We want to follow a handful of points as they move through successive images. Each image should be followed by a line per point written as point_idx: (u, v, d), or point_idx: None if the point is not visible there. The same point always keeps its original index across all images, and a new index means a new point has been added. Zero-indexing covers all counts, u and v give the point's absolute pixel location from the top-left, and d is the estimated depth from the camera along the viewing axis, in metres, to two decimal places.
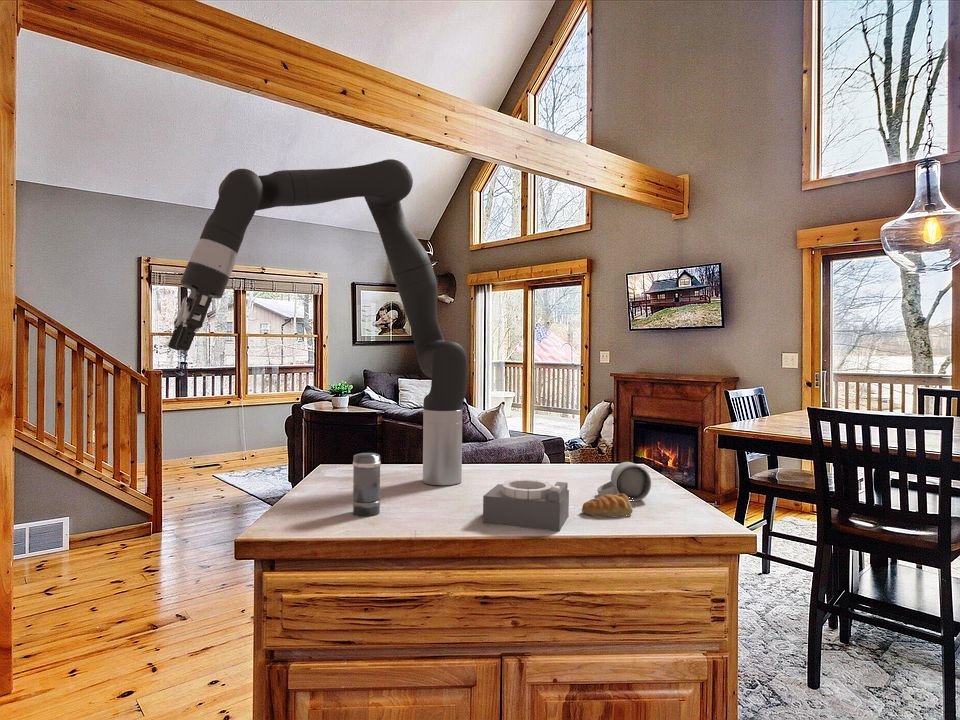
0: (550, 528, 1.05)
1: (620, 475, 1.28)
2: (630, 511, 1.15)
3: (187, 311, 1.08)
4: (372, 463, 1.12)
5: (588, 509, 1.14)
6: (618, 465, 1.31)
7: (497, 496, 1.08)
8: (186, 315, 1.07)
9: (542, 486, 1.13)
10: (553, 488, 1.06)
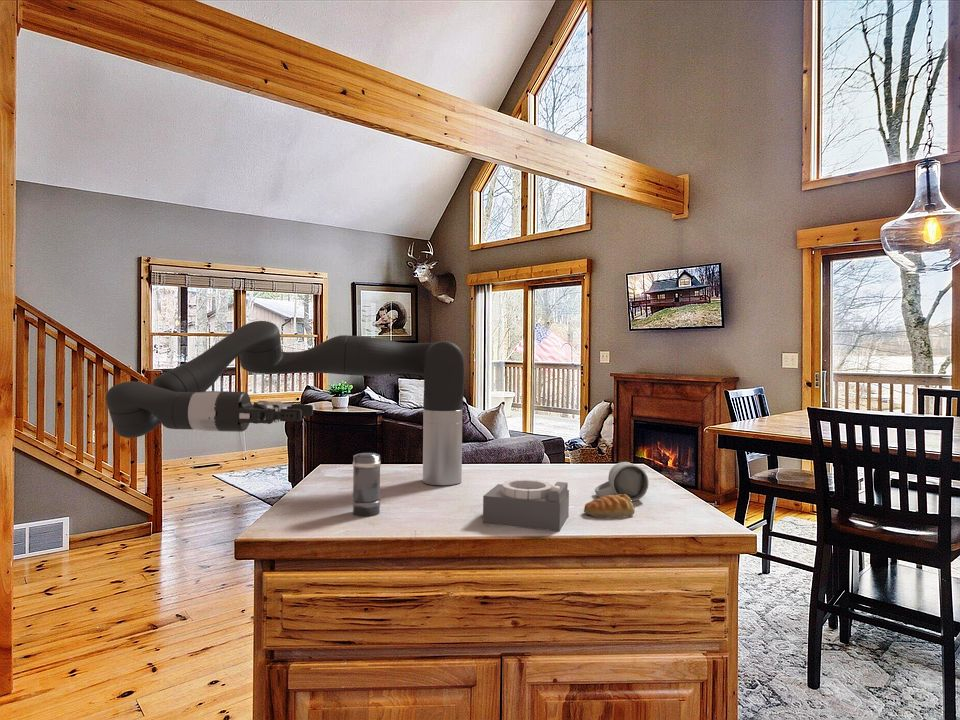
0: (550, 528, 1.05)
1: (617, 475, 1.28)
2: (632, 512, 1.15)
3: None
4: (372, 463, 1.12)
5: (590, 509, 1.14)
6: (615, 465, 1.31)
7: (497, 496, 1.08)
8: None
9: (542, 486, 1.13)
10: (553, 488, 1.06)
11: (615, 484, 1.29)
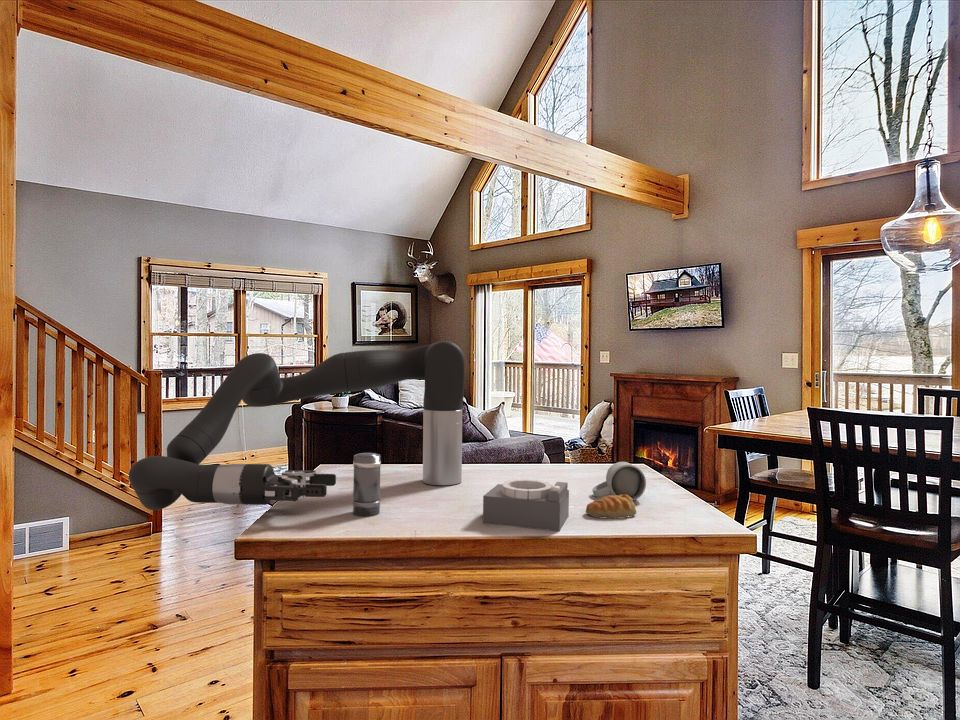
0: (550, 528, 1.05)
1: (615, 475, 1.28)
2: (634, 512, 1.14)
3: None
4: (372, 463, 1.12)
5: (592, 510, 1.13)
6: (613, 465, 1.31)
7: (497, 496, 1.08)
8: None
9: (542, 486, 1.13)
10: (553, 488, 1.06)
11: (613, 484, 1.29)
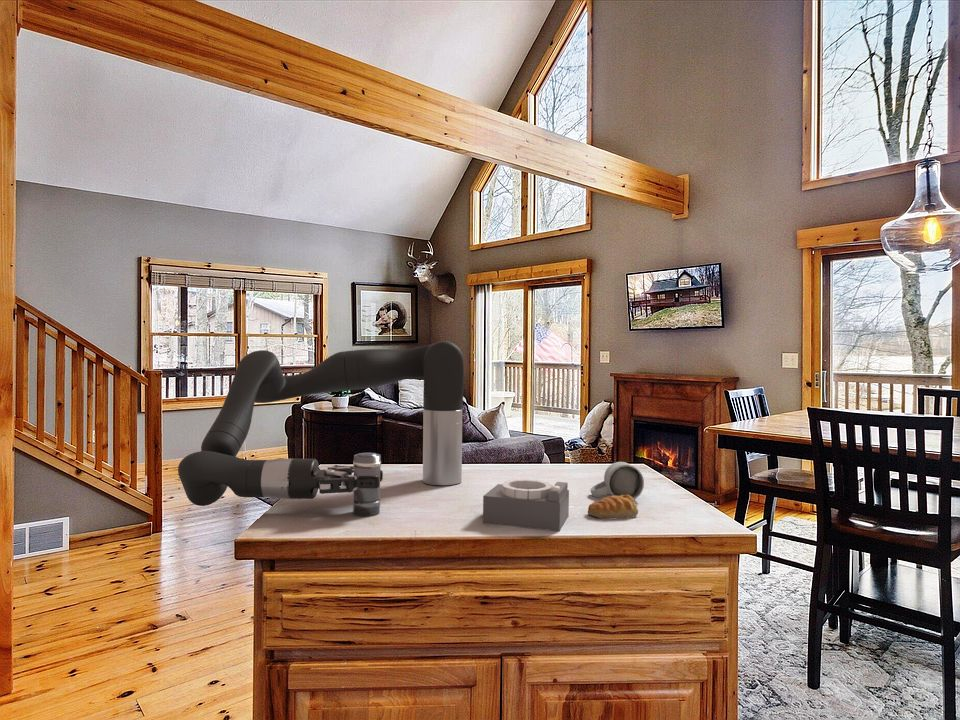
0: (550, 528, 1.05)
1: (613, 475, 1.28)
2: (636, 512, 1.14)
3: None
4: (373, 463, 1.12)
5: (594, 511, 1.13)
6: (611, 465, 1.31)
7: (497, 496, 1.08)
8: (351, 468, 1.17)
9: (542, 486, 1.13)
10: (553, 488, 1.06)
11: (611, 484, 1.29)
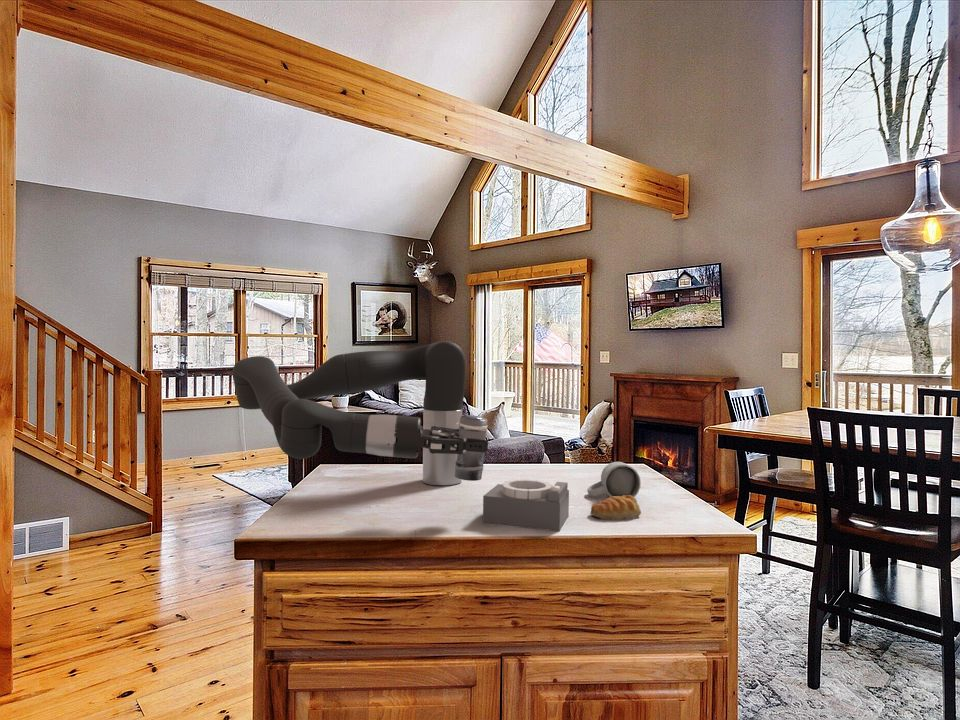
0: (550, 528, 1.05)
1: (610, 475, 1.28)
2: (639, 513, 1.14)
3: None
4: (481, 426, 1.08)
5: (598, 511, 1.12)
6: (608, 465, 1.31)
7: (497, 496, 1.08)
8: None
9: (542, 486, 1.13)
10: (553, 488, 1.06)
11: (607, 484, 1.29)
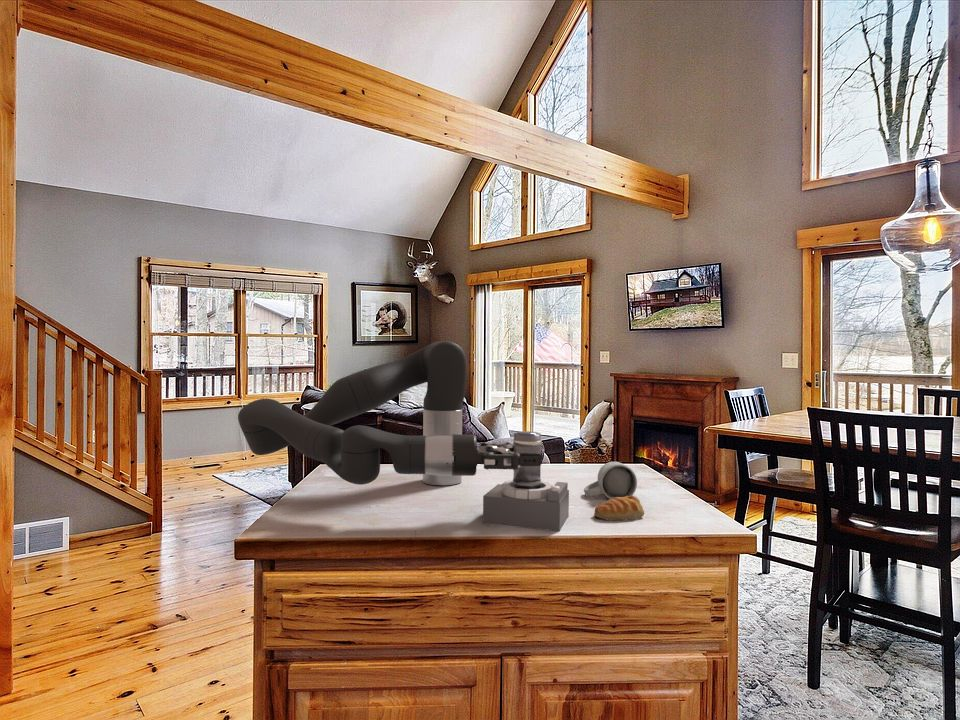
0: (550, 528, 1.05)
1: (606, 475, 1.28)
2: (642, 513, 1.14)
3: None
4: (536, 441, 1.09)
5: (602, 513, 1.12)
6: (605, 465, 1.32)
7: (497, 496, 1.08)
8: None
9: (542, 486, 1.13)
10: (553, 488, 1.06)
11: (604, 484, 1.29)
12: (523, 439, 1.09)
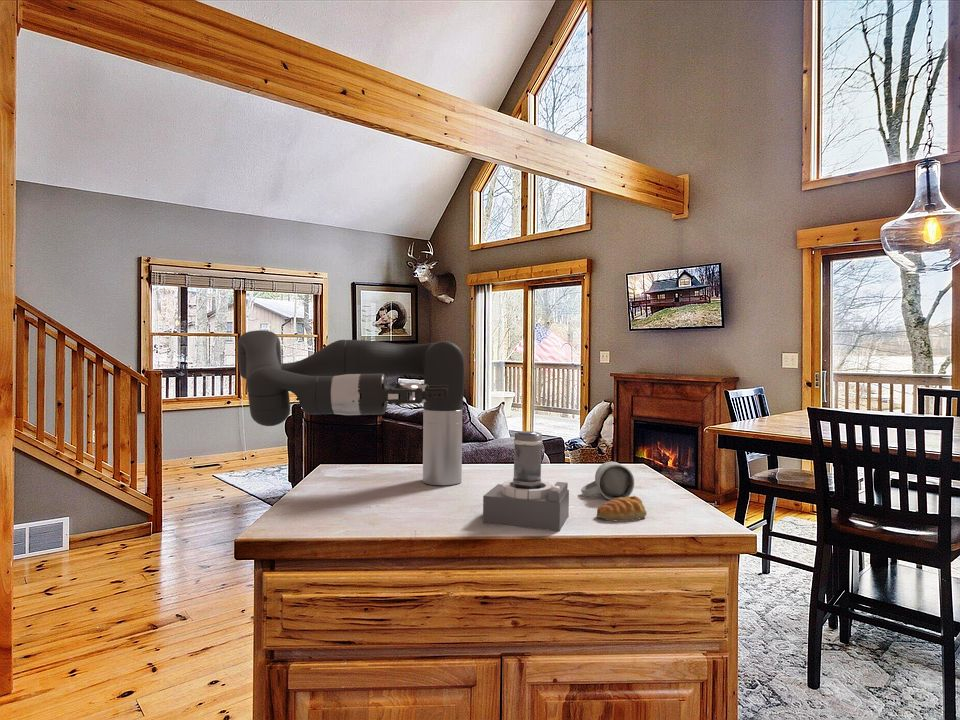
0: (550, 528, 1.05)
1: (603, 475, 1.28)
2: (645, 514, 1.13)
3: None
4: (536, 441, 1.09)
5: (605, 513, 1.11)
6: (602, 465, 1.32)
7: (497, 496, 1.08)
8: None
9: (542, 486, 1.13)
10: (553, 488, 1.06)
11: (601, 484, 1.29)
12: (524, 439, 1.09)
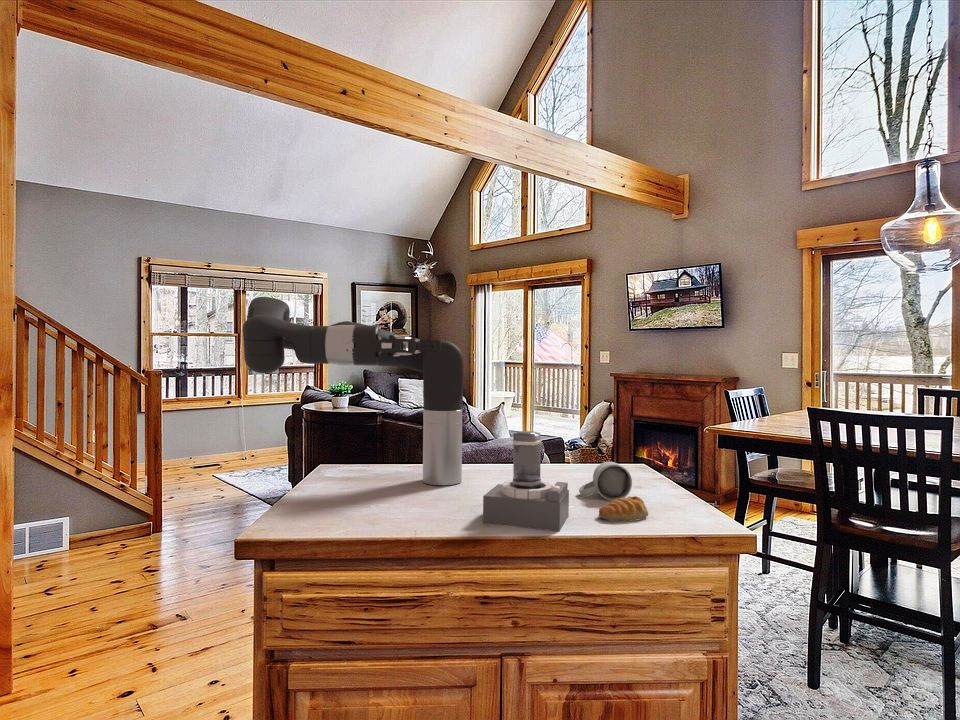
0: (550, 528, 1.05)
1: (601, 475, 1.28)
2: (646, 514, 1.13)
3: None
4: (535, 441, 1.09)
5: (607, 514, 1.11)
6: (600, 465, 1.32)
7: (497, 496, 1.08)
8: None
9: (542, 486, 1.13)
10: (553, 488, 1.06)
11: (599, 484, 1.29)
12: (522, 439, 1.09)
